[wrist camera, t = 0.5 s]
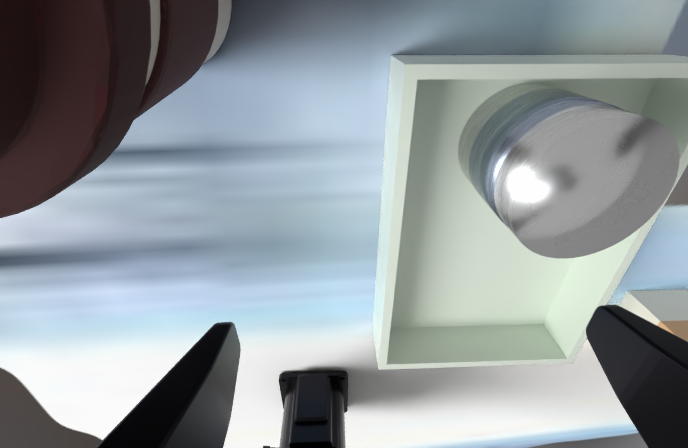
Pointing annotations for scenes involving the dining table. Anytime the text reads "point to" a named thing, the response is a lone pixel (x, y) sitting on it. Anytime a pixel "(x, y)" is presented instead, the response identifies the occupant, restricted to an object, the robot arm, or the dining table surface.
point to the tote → (492, 215)
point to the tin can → (566, 168)
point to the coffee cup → (88, 81)
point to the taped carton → (660, 308)
